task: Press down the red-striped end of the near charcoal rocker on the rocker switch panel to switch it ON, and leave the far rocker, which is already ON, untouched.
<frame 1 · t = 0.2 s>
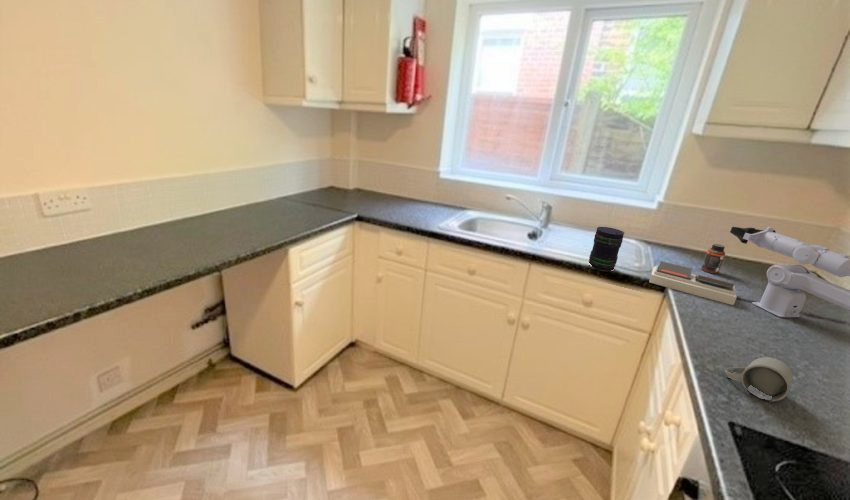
hand: (740, 230, 137), 21 cm above the worktop, tool horizontal, fingers open, 7 cm apart
rocker switch panel: (689, 287, 138), on the worktop
supplement bottle: (709, 271, 157), on the worktop
storage jar: (600, 267, 151), on the worktop
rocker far: (674, 270, 139), point 5 cm above the worktop, hinge at -15.0°
rocker near: (714, 280, 133), point 5 cm above the worktop, hinge at 15.0°
ceramic mug: (752, 389, 85), on the worktop
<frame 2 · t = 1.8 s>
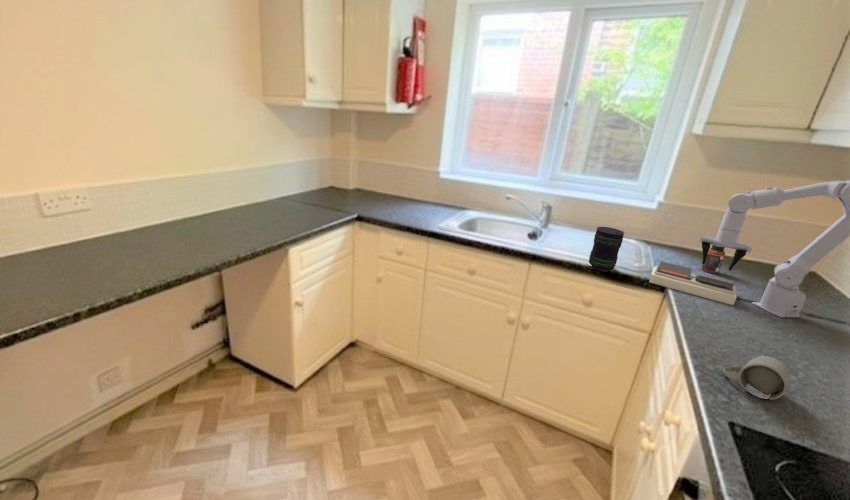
hand: (716, 266, 134), 9 cm above the worktop, tool pointing down, fingers open, 7 cm apart
nothing on the worktop moved.
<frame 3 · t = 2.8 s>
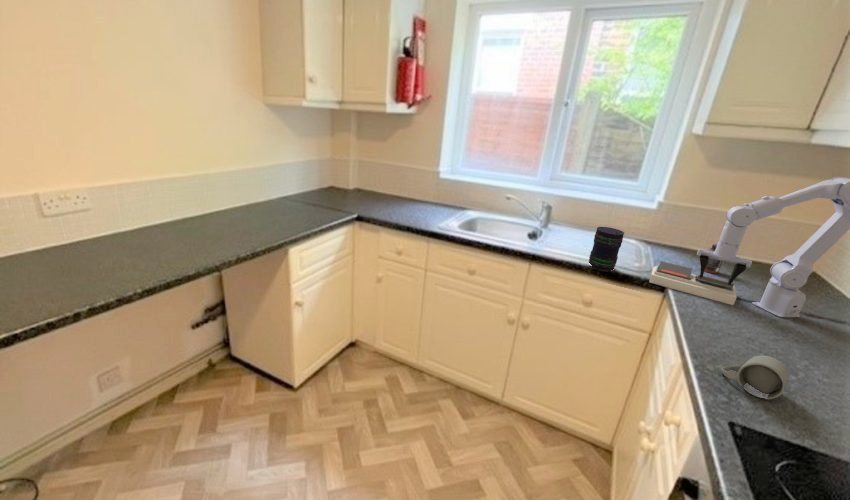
hand: (714, 280, 131), 6 cm above the worktop, tool pointing down
rocker near: (714, 280, 133), point 5 cm above the worktop, hinge at 14.7°, touching gripper
everything else where it was.
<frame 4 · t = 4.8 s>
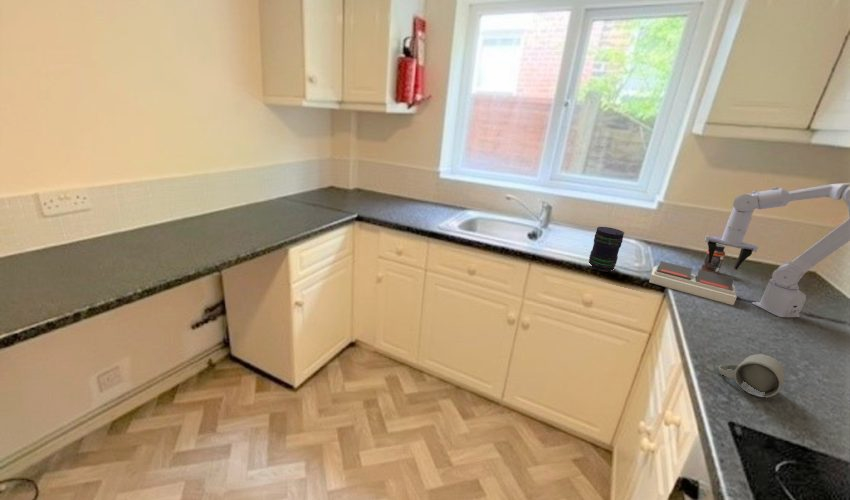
hand: (722, 265, 135), 9 cm above the worktop, tool pointing down, fingers open, 7 cm apart
rocker near: (714, 280, 133), point 5 cm above the worktop, hinge at -22.5°, touching rocker switch panel
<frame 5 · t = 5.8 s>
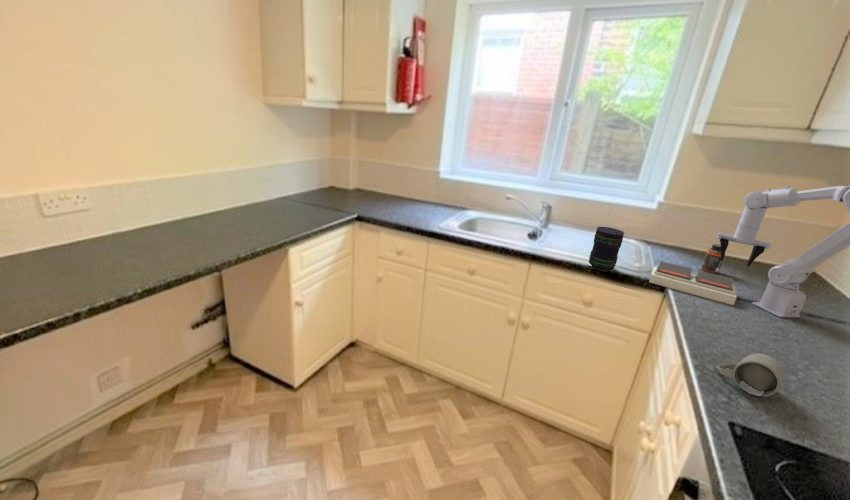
hand: (734, 262, 136), 10 cm above the worktop, tool pointing down, fingers open, 7 cm apart
rocker near: (714, 280, 133), point 5 cm above the worktop, hinge at -14.7°
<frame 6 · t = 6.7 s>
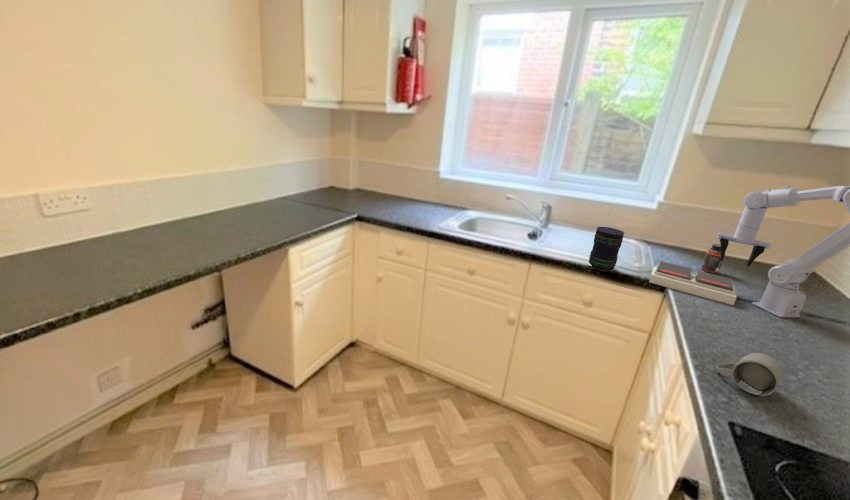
hand: (734, 262, 136), 10 cm above the worktop, tool pointing down, fingers open, 7 cm apart
rocker near: (714, 280, 133), point 5 cm above the worktop, hinge at -9.4°
at the end: rocker near at -8° (first picture: +15°); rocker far at -15° (first picture: -15°) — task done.
